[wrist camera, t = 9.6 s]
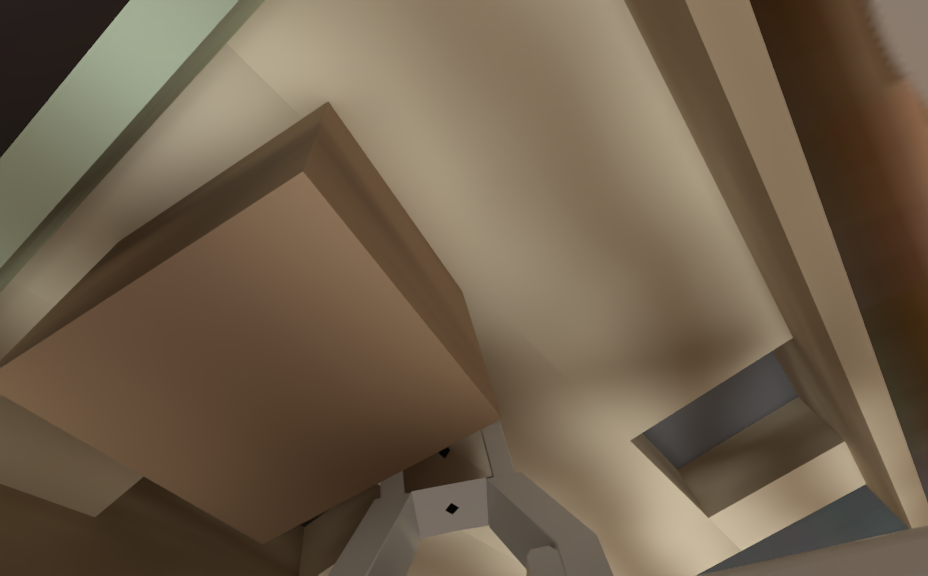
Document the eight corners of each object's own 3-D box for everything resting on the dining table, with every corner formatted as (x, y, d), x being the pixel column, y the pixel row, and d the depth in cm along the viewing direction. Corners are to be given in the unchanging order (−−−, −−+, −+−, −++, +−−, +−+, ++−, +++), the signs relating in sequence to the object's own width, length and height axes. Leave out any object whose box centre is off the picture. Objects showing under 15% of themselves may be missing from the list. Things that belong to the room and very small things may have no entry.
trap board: (501, 622, 26) (524, 728, 22) (-101, 365, 13) (-302, 526, 9) (836, 430, 22) (934, 522, 18) (472, -287, 8) (562, -528, 4)
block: (291, 389, 12) (262, 544, 9) (119, 241, 9) (-21, 382, 6) (462, 291, 11) (501, 418, 8) (328, 101, 9) (302, 171, 5)
